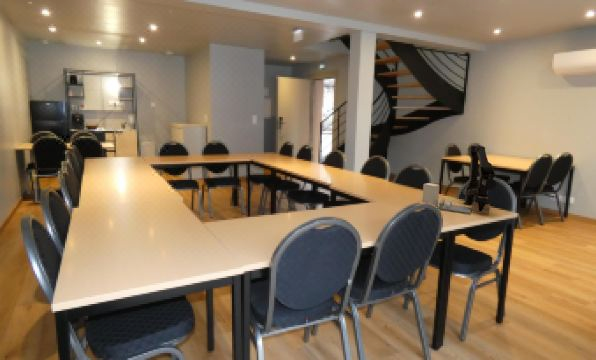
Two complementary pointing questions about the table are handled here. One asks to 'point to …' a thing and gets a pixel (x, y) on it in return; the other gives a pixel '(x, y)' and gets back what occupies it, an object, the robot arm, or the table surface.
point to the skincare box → (431, 193)
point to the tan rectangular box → (476, 208)
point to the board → (453, 207)
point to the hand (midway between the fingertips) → (480, 210)
